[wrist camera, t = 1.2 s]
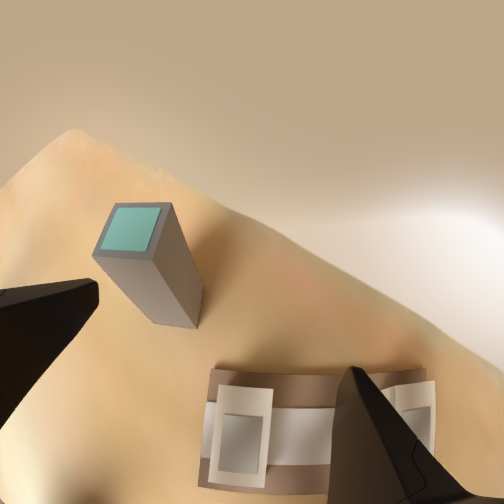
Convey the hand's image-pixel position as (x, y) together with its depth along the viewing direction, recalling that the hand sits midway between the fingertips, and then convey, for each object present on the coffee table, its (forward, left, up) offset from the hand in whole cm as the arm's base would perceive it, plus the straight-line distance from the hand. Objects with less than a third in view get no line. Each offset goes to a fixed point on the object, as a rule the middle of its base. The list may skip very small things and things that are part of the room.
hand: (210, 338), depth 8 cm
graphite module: (-1, +9, -14) cm, 17 cm away
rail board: (+3, -7, -14) cm, 16 cm away
